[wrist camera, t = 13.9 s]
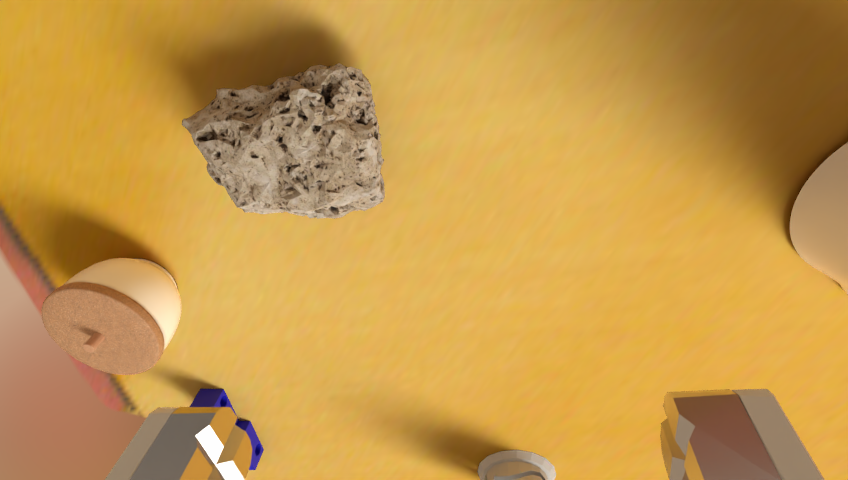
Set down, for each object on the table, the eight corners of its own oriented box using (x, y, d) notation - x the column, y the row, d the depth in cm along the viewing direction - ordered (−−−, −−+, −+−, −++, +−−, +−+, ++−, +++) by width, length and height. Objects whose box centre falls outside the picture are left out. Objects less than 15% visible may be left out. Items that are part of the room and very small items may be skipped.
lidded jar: (89, 292, 53) (21, 357, 45) (105, 220, 48) (30, 281, 40) (186, 335, 55) (136, 404, 48) (211, 271, 50) (160, 338, 42)
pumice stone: (239, 187, 44) (195, 236, 37) (205, 45, 37) (144, 75, 31) (395, 194, 43) (378, 246, 36) (389, 49, 36) (366, 80, 29)
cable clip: (264, 448, 66) (245, 492, 61) (232, 447, 67) (212, 491, 62) (235, 388, 60) (212, 431, 55) (201, 387, 60) (175, 430, 56)
